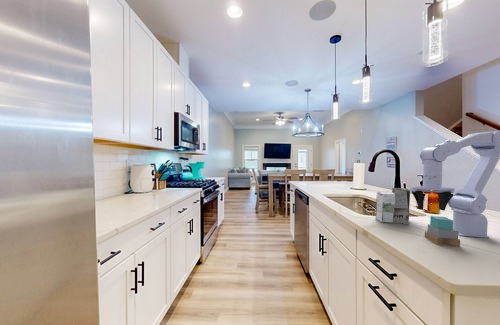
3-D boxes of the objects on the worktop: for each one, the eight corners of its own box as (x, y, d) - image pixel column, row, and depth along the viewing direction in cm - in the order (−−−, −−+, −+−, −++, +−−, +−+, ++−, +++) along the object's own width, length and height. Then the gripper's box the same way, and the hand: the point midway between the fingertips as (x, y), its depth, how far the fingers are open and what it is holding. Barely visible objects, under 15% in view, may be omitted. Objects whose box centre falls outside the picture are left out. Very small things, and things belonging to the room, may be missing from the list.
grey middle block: (445, 232, 78) (445, 225, 78) (458, 239, 72) (458, 231, 72) (427, 231, 79) (427, 224, 79) (438, 237, 73) (438, 229, 73)
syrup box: (387, 219, 102) (388, 191, 102) (394, 223, 96) (395, 193, 96) (375, 219, 103) (376, 191, 102) (381, 222, 97) (382, 193, 96)
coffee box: (409, 224, 94) (410, 190, 94) (392, 222, 98) (393, 189, 97) (406, 219, 102) (407, 188, 102) (390, 217, 106) (391, 187, 105)
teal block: (444, 225, 77) (444, 216, 77) (452, 229, 73) (453, 220, 73) (430, 224, 78) (430, 215, 78) (437, 228, 74) (438, 219, 74)
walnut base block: (445, 240, 78) (445, 232, 78) (459, 248, 72) (460, 239, 71) (424, 238, 80) (424, 230, 80) (436, 246, 73) (437, 237, 73)
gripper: (418, 177, 80) (417, 210, 80) (461, 178, 77) (459, 213, 77) (408, 175, 87) (407, 206, 87) (447, 176, 84) (446, 208, 84)
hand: (431, 209), depth 83 cm, fingers open, 7 cm apart
